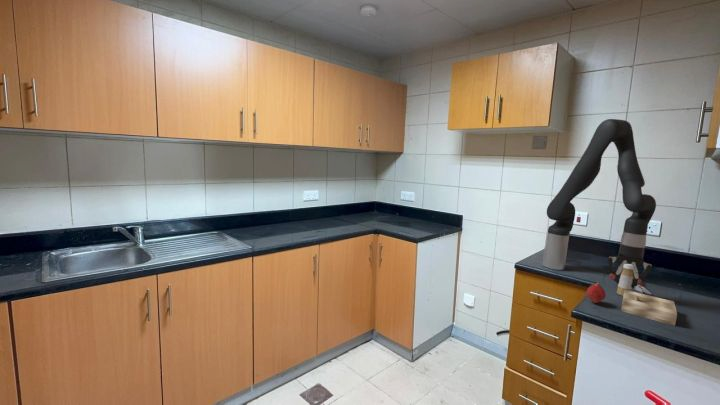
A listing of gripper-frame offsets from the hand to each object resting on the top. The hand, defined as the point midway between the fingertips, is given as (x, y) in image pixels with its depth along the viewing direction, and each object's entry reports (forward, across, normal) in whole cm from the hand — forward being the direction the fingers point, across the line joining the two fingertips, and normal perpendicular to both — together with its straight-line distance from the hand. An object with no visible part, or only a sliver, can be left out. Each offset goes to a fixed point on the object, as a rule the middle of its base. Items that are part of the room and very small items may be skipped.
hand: (625, 284), depth 130 cm
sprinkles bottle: (+4, 0, 0) cm, 4 cm away
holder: (+4, +7, -13) cm, 15 cm away
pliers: (+5, +1, +16) cm, 17 cm away
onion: (+4, -8, -19) cm, 21 cm away
